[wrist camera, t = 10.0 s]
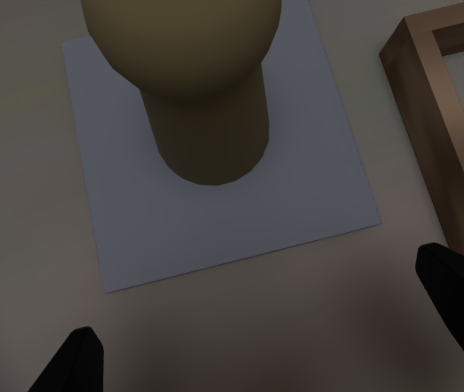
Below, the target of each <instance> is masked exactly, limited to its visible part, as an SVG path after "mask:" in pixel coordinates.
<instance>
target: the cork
mask: <svg viewBox="0 0 464 392" xmlns="http://www.w3.org/2000/svg"><path fill="white" fill-rule="evenodd" d="M81 5H82V9H83V14H84V18H85V22H86V25H87V29H88V32H89V34H90V35H91V37H92V38H93V40H94V42H95V43H96V45H97V46H98V48H99V49H100V51H101V53H102V54H103V56H104V57H105V59H106V60H107V61H108V63H109V64H110V66H111V67H112V69H114V70H115V71H116V72H118V73H119V74H120V75H121V76H123V77H124V78H125V79H127V80H128V81H129V82H131V83H132V84H133V85H134V86H136V87H137V88H139V90H140V93H141V96H142V100H143V103H144V106H145V109H146V113H147V116H148V119H149V122H150V125H151V129H152V132H153V135H154V138H155V142H156V145H157V148H158V151H159V154H160V155H161V157H162V158H163V160H164V161H165V163H166V165H167V166H168V168H170V169H171V170H172V171H173V172H175V173H176V174H177V175H178V176H180V177H181V178H182V179H185V180H187V181H190V182H193V183H195V184H198V185H211V186H219V185H223V184H226V183H230V182H234V181H236V180H238V179H240V178H241V177H243V176H244V175H246V174H247V173H249V172H251V171H252V169H253V168H254V167H255V166H256V165H257V163H258V162H259V161H260V160H261V159H262V157H263V155H264V152H265V149H266V147H267V144H268V142H269V117H268V109H267V102H266V94H265V87H264V79H263V72H262V64H261V62H262V61H263V59H264V58H265V56H266V54H267V53H268V51H269V49H270V46H271V44H272V41H273V39H274V36H275V34H276V31H277V29H278V26H279V21H280V16H281V7H282V0H81Z"/></svg>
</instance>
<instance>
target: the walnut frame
mask: <svg viewBox="0 0 464 392" xmlns="http://www.w3.org/2000/svg"><path fill="white" fill-rule="evenodd" d="M461 51H464V2H463V3H459V4H455V5H451V6H447V7H443V8H438V9H434V10H430V11H426V12H422V13H418V14H413V15H409V16H405V17H403V19H402V20H401V22H400V23H399V25H398V26H397V28H396V29H395V31H394V32H393V34H392V35H391V37H390V38H389V40H388V41H387V43H386V44H385V46H384V48H383V49H382V51H381V52H380V54H379V55H380V58H381V60H382V63H383V66H384V69H385V71H386V74H387V77H388V80H389V82H390V85H391V88H392V91H393V93H394V96H395V99H396V102H397V104H398V107H399V110H400V113H401V115H402V118H403V121H404V124H405V126H406V129H407V132H408V135H409V137H410V140H411V143H412V146H413V149H414V151H415V154H416V157H417V160H418V162H419V165H420V168H421V171H422V173H423V176H424V179H425V182H426V184H427V187H428V190H429V193H430V195H431V198H432V201H433V204H434V206H435V209H436V212H437V215H438V217H439V220H440V223H441V226H442V228H443V231H444V234H445V237H446V239H447V242H448V245H449V248H450V249H451V250H453V251H456V252H458V253H460V254H462V255H464V110H463V107H462V105H461V102H460V100H459V97H458V95H457V92H456V90H455V87H454V85H453V82H452V80H451V77H450V75H449V72H448V70H447V67H446V65H445V62H444V60H443V57H442V56H444V55H449V54H453V53H457V52H461Z"/></svg>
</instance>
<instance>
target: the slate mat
mask: <svg viewBox="0 0 464 392" xmlns="http://www.w3.org/2000/svg"><path fill="white" fill-rule="evenodd" d="M61 44H62V50H63V56H64V62H65V67H66V73H67V79H68V85H69V91H70V96H71V102H72V108H73V114H74V120H75V125H76V131H77V137H78V143H79V149H80V154H81V160H82V166H83V172H84V178H85V183H86V189H87V195H88V201H89V207H90V212H91V218H92V224H93V230H94V235H95V241H96V247H97V253H98V259H99V264H100V270H101V276H102V282H103V288H104V293H109V292H113V291H117V290H121V289H125V288H129V287H133V286H137V285H141V284H145V283H149V282H153V281H157V280H161V279H165V278H168V277H172V276H176V275H180V274H184V273H188V272H192V271H196V270H200V269H204V268H208V267H212V266H216V265H220V264H224V263H228V262H232V261H236V260H240V259H244V258H248V257H252V256H256V255H260V254H264V253H268V252H271V251H275V250H279V249H283V248H287V247H291V246H295V245H299V244H303V243H307V242H311V241H315V240H319V239H323V238H327V237H331V236H335V235H339V234H343V233H347V232H351V231H355V230H359V229H363V228H367V227H371V226H374V225H378V224H382V222H381V219H380V216H379V213H378V210H377V207H376V204H375V201H374V198H373V195H372V192H371V189H370V186H369V183H368V180H367V177H366V174H365V171H364V168H363V165H362V162H361V159H360V156H359V153H358V150H357V147H356V144H355V141H354V138H353V135H352V132H351V128H350V125H349V122H348V119H347V116H346V113H345V110H344V107H343V104H342V101H341V98H340V95H339V92H338V89H337V86H336V83H335V80H334V77H333V74H332V71H331V68H330V65H329V62H328V59H327V56H326V53H325V50H324V47H323V44H322V41H321V38H320V35H319V32H318V29H317V26H316V23H315V20H314V17H313V14H312V11H311V8H310V4H309V1H308V0H282V7H281V16H280V21H279V26H278V29H277V31H276V34H275V36H274V39H273V41H272V44H271V46H270V49H269V51H268V53H267V54H266V56H265V58H264V59H263V61H262V62H261V64H262V72H263V79H264V87H265V94H266V102H267V109H268V117H269V142H268V144H267V147H266V149H265V152H264V155H263V157H262V159H261V160H260V161H259V162H258V163H257V165H256V166H255V167H254V168H253V169H252V171H251V172H249V173H247V174H246V175H244V176H243V177H241V178H240V179H238V180H236V181H234V182H230V183H226V184H223V185H219V186H211V185H198V184H195V183H193V182H190V181H187V180H185V179H182V178H181V177H180V176H178V175H177V174H176V173H175V172H173V171H172V170H171V169H170V168H168V166H167V165H166V163H165V161H164V160H163V158H162V157H161V155H160V154H159V151H158V148H157V145H156V142H155V138H154V135H153V132H152V129H151V125H150V122H149V119H148V116H147V113H146V109H145V106H144V103H143V100H142V96H141V93H140V90H139V88H137V87H136V86H134V85H133V84H132V83H131V82H129V81H128V80H127V79H125V78H124V77H123V76H121V75H120V74H119V73H118V72H116V71H115V70H114V69H112V67H111V66H110V64H109V63H108V61H107V60H106V59H105V57H104V56H103V54H102V53H101V51H100V49H99V48H98V46H97V45H96V43H95V42H94V40H93V38H92V37H91V35H89V36H85V37H81V38H77V39H72V40H68V41H64V42H61Z"/></svg>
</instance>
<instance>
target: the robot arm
mask: <svg viewBox="0 0 464 392" xmlns="http://www.w3.org/2000/svg"><path fill="white" fill-rule="evenodd" d="M415 269H416V273H417V275H418V277H419V279H420V281H421V283H422V284H423V286H424V288H425V290H426V291H427V293H428V295H429V297H430V299H431V300H432V302H433V304H434V306H435V308H436V309H437V311H438V313H439V315H440V316H441V318H442V320H443V321H444V323H445V325H446V326H447V328H448V329H449V331H450V332H451V334H452V335H453V337H454V338H455V339H456V341H457V342H458V344H459V345H460V347H461V348H462V349H463V351H464V255H462V254H460V253H458V252H456V251H453V250H451V249H449V248H447V247H445V246H443V245H441V244H438V243H435V242H433V243H428V244H424V245H421V246H420V247H419V248H418V253H417V259H416V265H415ZM103 365H104V350H103V345H102V343H101V341H100V340H99V338H98V337H97V335H96V334H95V332H94V331H93V329H92V328H91V327H89V326H86V327H82V328H78V329H75V330H73V331H72V332H71V333H70V335H69V336H68V337H67V339H66V340H65V342H64V343H63V344H62V346H61V347H60V348H59V350H58V351H57V352H56V354H55V355H54V357H53V358H52V359H51V361H50V362H49V363H48V365H47V366H46V367H45V369H44V370H43V372H42V373H41V374H40V376H39V377H38V378H37V380H36V381H35V382H34V384H33V385H32V386H31V388H30V389H29V391H28V392H103Z"/></svg>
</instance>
